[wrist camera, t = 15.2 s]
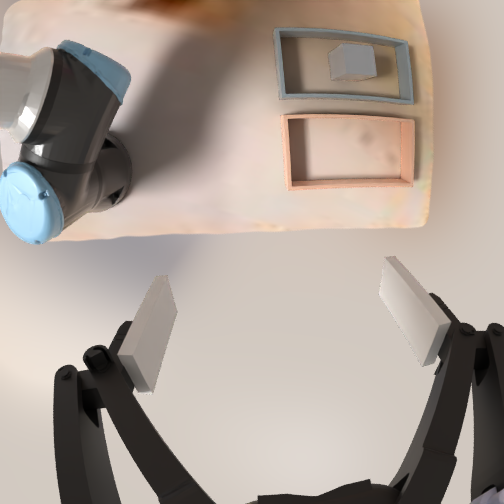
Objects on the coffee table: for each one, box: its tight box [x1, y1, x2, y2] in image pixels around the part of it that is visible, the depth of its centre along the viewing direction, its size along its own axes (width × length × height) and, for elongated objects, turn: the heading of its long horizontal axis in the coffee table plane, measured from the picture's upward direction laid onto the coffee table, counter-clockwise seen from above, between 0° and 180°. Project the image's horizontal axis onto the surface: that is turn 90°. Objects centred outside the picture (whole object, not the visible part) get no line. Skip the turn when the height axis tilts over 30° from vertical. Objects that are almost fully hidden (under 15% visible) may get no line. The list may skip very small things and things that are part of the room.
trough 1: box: [273, 28, 414, 105], centre depth 37 cm, size 23×12×4 cm, turn 95°
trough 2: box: [281, 114, 415, 191], centre depth 44 cm, size 23×12×4 cm, turn 95°
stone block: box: [328, 43, 377, 81], centre depth 36 cm, size 5×5×8 cm
